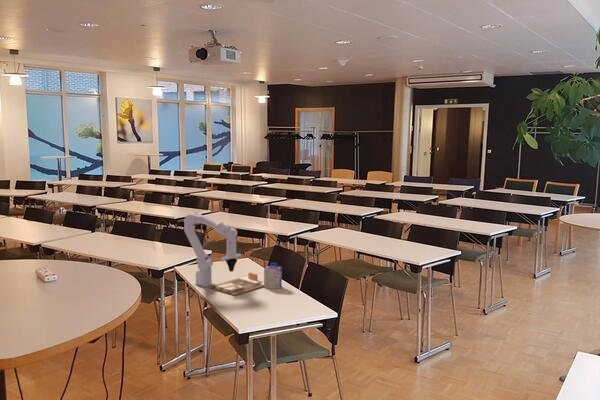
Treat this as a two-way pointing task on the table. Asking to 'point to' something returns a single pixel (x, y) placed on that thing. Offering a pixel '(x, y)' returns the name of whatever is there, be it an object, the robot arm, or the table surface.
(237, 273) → the table surface
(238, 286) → the board
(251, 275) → the stub
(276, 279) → the ink cartridge box
